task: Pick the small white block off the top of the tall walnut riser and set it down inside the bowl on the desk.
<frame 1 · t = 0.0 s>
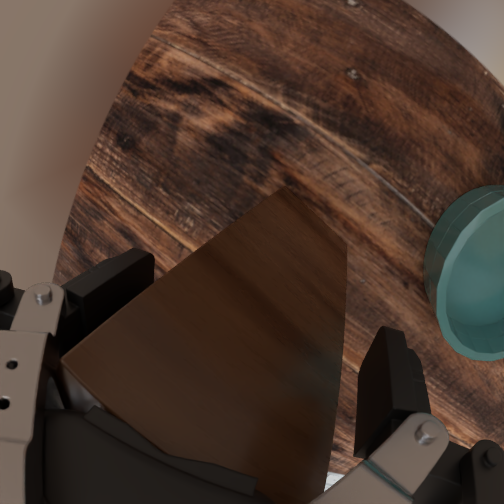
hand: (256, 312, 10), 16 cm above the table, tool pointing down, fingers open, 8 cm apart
bowl: (490, 262, 21), on the table
riser: (288, 244, 26), on the table
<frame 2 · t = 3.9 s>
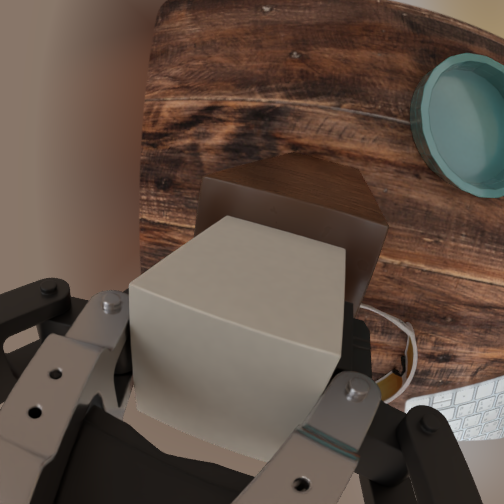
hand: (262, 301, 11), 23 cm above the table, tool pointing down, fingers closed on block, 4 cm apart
bowl: (468, 125, 25), on the table
block: (271, 285, 12), point 22 cm above the table, touching gripper, riser
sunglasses: (356, 345, 37), on the table
riser: (318, 192, 32), on the table
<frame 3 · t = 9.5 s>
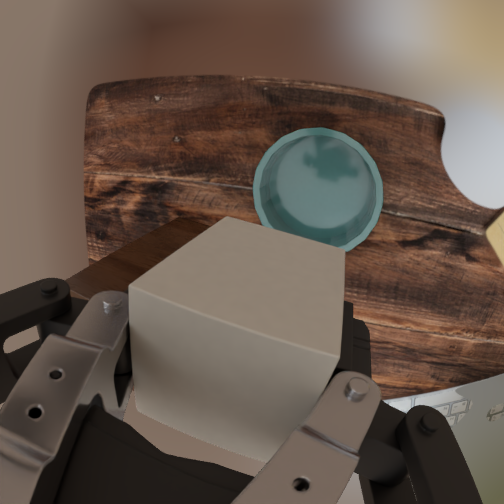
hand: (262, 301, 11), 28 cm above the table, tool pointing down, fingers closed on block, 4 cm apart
bowl: (320, 187, 36), on the table
block: (271, 285, 12), point 26 cm above the table, touching gripper
riser: (197, 247, 43), on the table
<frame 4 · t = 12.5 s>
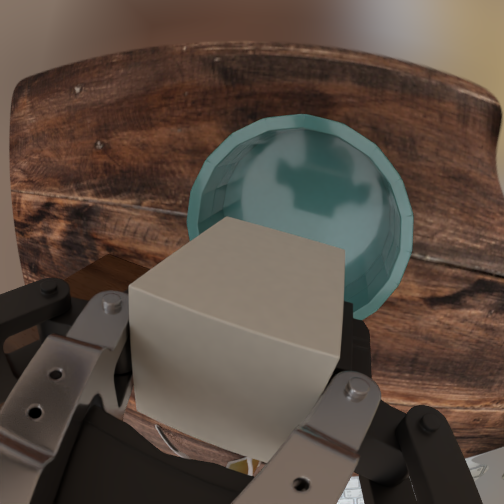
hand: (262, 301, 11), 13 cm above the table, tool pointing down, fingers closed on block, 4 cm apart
bowl: (305, 215, 22), on the table
block: (271, 286, 12), point 11 cm above the table, touching gripper
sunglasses: (209, 428, 35), on the table
riser: (135, 294, 30), on the table
when the fingers open (4 cm above the table, at t = 15.1 s): block drops 2 cm, resting on bowl.
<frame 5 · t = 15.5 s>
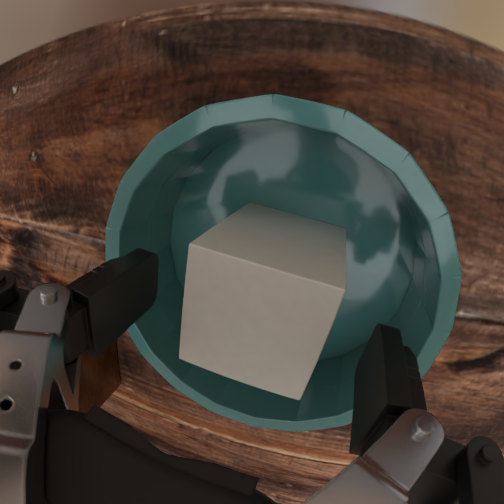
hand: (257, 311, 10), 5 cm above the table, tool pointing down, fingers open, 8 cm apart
bowl: (288, 255, 15), on the table
block: (286, 260, 15), point 1 cm above the table, touching bowl
riser: (85, 337, 23), on the table
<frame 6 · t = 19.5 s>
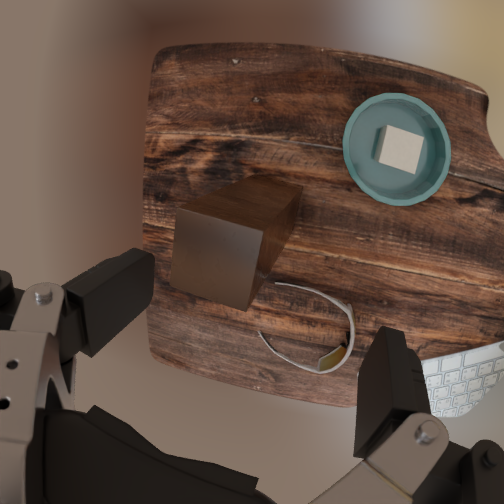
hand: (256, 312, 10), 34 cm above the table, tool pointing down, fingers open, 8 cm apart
bowl: (392, 148, 37), on the table
block: (393, 148, 36), point 1 cm above the table, touching bowl
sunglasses: (310, 322, 49), on the table
riser: (273, 204, 44), on the table
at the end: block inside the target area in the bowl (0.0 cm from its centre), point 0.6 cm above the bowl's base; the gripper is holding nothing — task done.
